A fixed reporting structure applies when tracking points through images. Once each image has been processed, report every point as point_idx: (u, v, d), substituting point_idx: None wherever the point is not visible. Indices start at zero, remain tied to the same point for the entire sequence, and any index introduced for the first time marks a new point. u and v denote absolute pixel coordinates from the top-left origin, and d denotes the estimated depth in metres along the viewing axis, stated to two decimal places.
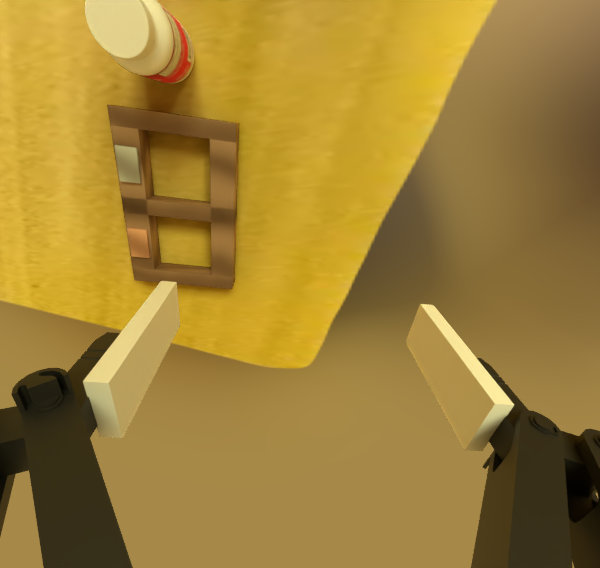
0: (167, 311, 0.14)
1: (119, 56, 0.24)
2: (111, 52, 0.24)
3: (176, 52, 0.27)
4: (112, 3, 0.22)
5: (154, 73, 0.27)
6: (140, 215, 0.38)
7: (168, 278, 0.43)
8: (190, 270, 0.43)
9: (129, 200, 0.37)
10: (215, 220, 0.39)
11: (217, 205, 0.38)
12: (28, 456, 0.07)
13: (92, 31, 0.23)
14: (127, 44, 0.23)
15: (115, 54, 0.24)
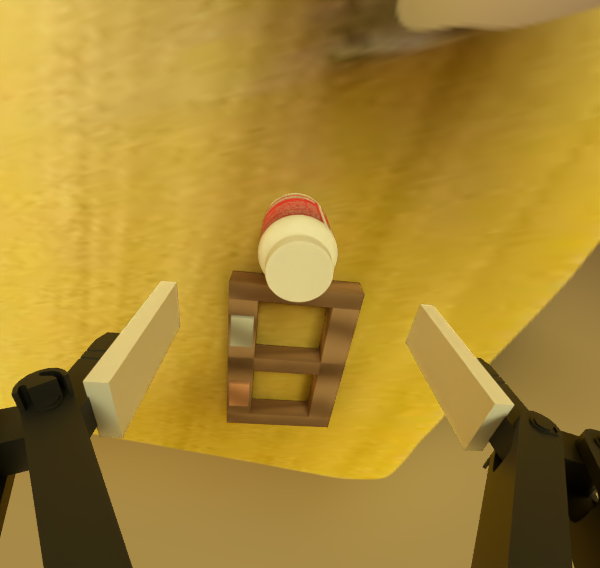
0: (167, 311, 0.14)
1: (292, 301, 0.21)
2: (284, 298, 0.21)
3: None
4: (298, 260, 0.19)
5: None
6: (244, 370, 0.35)
7: (262, 420, 0.40)
8: (284, 409, 0.41)
9: (235, 359, 0.35)
10: (323, 373, 0.36)
11: (328, 361, 0.35)
12: (27, 456, 0.07)
13: (269, 283, 0.20)
14: (304, 292, 0.21)
15: (288, 299, 0.21)
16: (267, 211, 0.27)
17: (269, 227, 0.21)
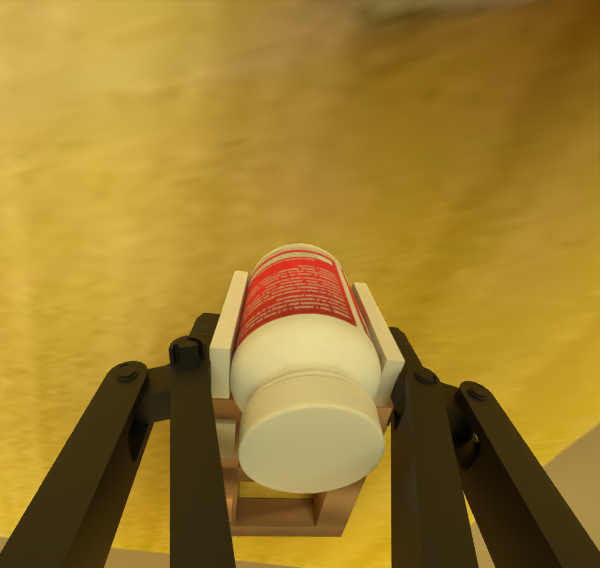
0: (244, 296, 0.16)
1: (296, 492, 0.10)
2: (281, 490, 0.10)
3: None
4: (311, 435, 0.09)
5: None
6: (225, 481, 0.25)
7: (253, 532, 0.29)
8: (283, 514, 0.30)
9: None
10: None
11: None
12: (170, 400, 0.09)
13: (247, 471, 0.09)
14: (321, 479, 0.10)
15: (288, 491, 0.10)
16: (253, 275, 0.16)
17: (250, 338, 0.11)
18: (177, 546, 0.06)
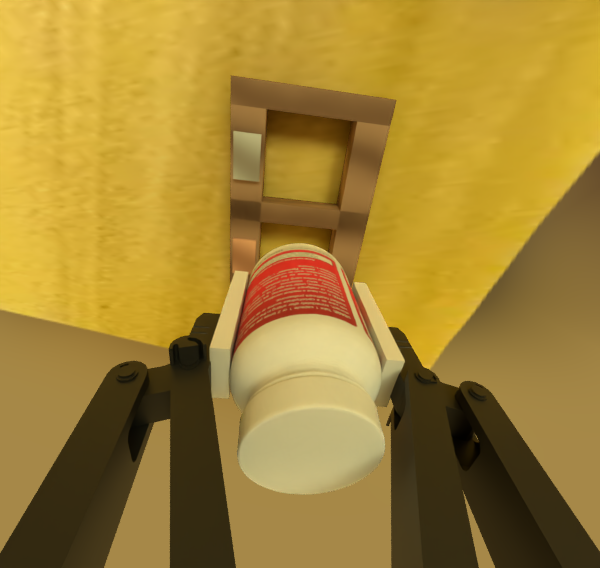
0: (244, 296, 0.16)
1: (296, 493, 0.10)
2: (281, 491, 0.10)
3: None
4: (311, 436, 0.09)
5: None
6: (250, 222, 0.30)
7: None
8: None
9: (239, 203, 0.29)
10: (342, 227, 0.31)
11: (349, 208, 0.30)
12: (170, 400, 0.09)
13: (247, 472, 0.09)
14: (321, 480, 0.10)
15: (288, 492, 0.10)
16: (253, 275, 0.16)
17: (250, 338, 0.11)
18: (177, 546, 0.06)
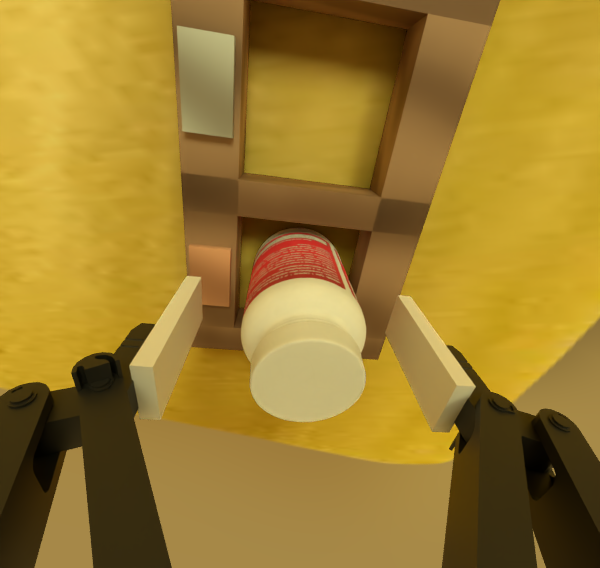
0: (194, 304, 0.15)
1: (296, 421, 0.13)
2: (283, 418, 0.13)
3: None
4: (307, 366, 0.11)
5: None
6: (219, 216, 0.17)
7: None
8: None
9: (198, 181, 0.16)
10: (382, 227, 0.18)
11: (397, 193, 0.17)
12: (81, 430, 0.08)
13: (257, 399, 0.12)
14: (316, 409, 0.12)
15: (290, 419, 0.13)
16: (258, 255, 0.19)
17: (258, 298, 0.13)
18: None
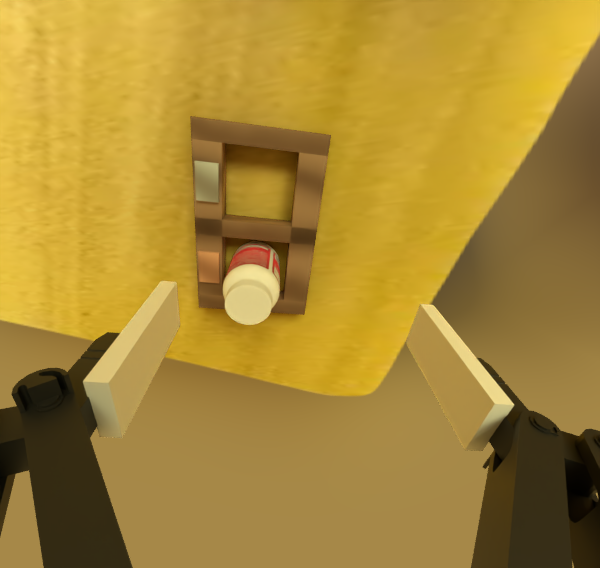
0: (167, 311, 0.14)
1: (245, 324, 0.30)
2: (239, 322, 0.30)
3: None
4: (246, 297, 0.29)
5: None
6: (213, 236, 0.34)
7: None
8: None
9: (203, 221, 0.34)
10: (295, 241, 0.35)
11: (299, 225, 0.34)
12: (28, 455, 0.07)
13: (228, 312, 0.29)
14: (253, 317, 0.30)
15: (242, 323, 0.30)
16: (233, 256, 0.36)
17: (229, 273, 0.31)
18: None
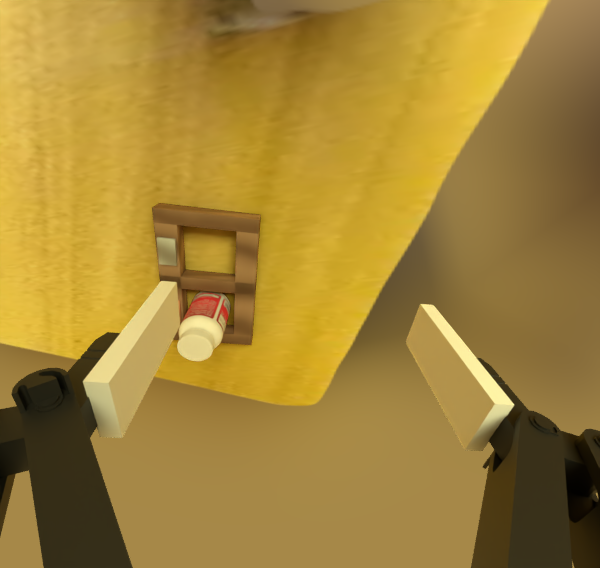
0: (167, 311, 0.14)
1: (194, 360, 0.40)
2: (189, 359, 0.40)
3: None
4: (193, 342, 0.39)
5: None
6: None
7: None
8: None
9: (166, 277, 0.44)
10: (238, 292, 0.45)
11: (241, 280, 0.44)
12: (28, 455, 0.07)
13: (180, 352, 0.40)
14: (199, 356, 0.40)
15: (192, 360, 0.40)
16: (192, 301, 0.47)
17: (183, 321, 0.41)
18: None
